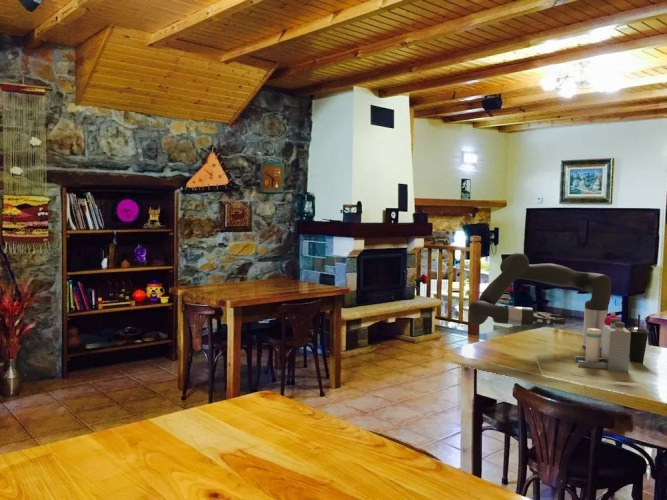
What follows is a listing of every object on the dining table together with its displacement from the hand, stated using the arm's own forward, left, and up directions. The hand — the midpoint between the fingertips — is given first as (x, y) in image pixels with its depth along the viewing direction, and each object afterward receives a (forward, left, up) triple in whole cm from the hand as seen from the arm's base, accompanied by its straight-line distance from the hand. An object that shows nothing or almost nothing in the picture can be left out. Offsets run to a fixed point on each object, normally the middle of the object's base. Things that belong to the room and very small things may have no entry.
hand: (563, 319), depth 220 cm
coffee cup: (0, +11, -17) cm, 20 cm away
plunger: (-4, +19, -5) cm, 20 cm away
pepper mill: (-16, +21, -18) cm, 32 cm away
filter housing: (0, +14, -18) cm, 23 cm away
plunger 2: (+4, +19, -5) cm, 20 cm away
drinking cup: (-13, +30, -18) cm, 38 cm away
